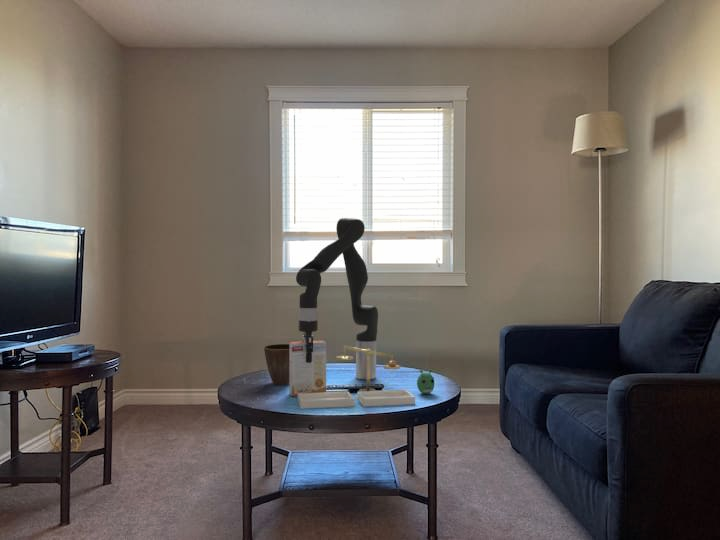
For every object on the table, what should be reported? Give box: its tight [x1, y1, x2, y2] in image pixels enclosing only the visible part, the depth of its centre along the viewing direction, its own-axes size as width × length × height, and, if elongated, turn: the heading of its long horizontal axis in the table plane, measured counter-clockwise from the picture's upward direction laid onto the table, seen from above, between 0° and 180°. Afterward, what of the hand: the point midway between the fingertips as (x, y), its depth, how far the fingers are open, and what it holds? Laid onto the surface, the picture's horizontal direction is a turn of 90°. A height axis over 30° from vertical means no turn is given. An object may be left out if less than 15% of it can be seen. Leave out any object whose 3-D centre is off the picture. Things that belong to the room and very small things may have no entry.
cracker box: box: [288, 340, 327, 397], centre depth 207 cm, size 14×6×21 cm, turn 110°
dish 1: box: [297, 390, 355, 410], centre depth 194 cm, size 12×20×3 cm, turn 102°
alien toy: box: [416, 368, 435, 395], centre depth 210 cm, size 7×8×10 cm
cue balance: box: [335, 345, 402, 392], centre depth 209 cm, size 7×27×20 cm, turn 102°
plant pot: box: [263, 343, 290, 386], centre depth 226 cm, size 15×15×16 cm
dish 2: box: [356, 389, 416, 407], centre depth 198 cm, size 12×20×3 cm, turn 102°
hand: (307, 360), depth 207 cm, fingers closed on cracker box, 6 cm apart
